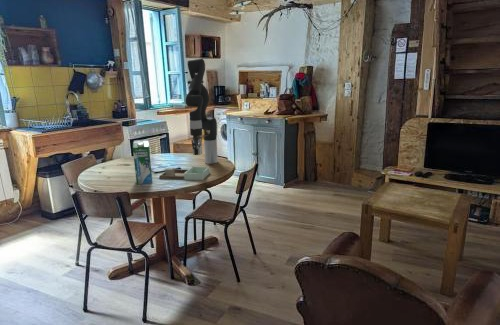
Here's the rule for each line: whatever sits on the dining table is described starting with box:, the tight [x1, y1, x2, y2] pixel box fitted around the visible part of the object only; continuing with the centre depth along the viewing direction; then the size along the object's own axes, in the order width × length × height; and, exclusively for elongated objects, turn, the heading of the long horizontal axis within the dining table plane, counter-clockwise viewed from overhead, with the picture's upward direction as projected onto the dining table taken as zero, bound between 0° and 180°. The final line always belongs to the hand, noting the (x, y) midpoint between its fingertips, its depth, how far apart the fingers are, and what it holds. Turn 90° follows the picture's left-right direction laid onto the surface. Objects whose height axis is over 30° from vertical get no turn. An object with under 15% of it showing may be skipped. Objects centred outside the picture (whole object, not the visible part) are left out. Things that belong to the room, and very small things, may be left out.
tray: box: [158, 168, 189, 180], centre depth 224 cm, size 16×16×2 cm
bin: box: [183, 166, 211, 181], centre depth 221 cm, size 16×12×5 cm
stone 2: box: [192, 146, 203, 156], centre depth 221 cm, size 4×4×4 cm
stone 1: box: [164, 167, 176, 176], centre depth 224 cm, size 4×4×4 cm
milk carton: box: [132, 140, 153, 186], centre depth 210 cm, size 9×9×25 cm
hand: (197, 154), depth 222 cm, fingers closed on stone 2, 4 cm apart
